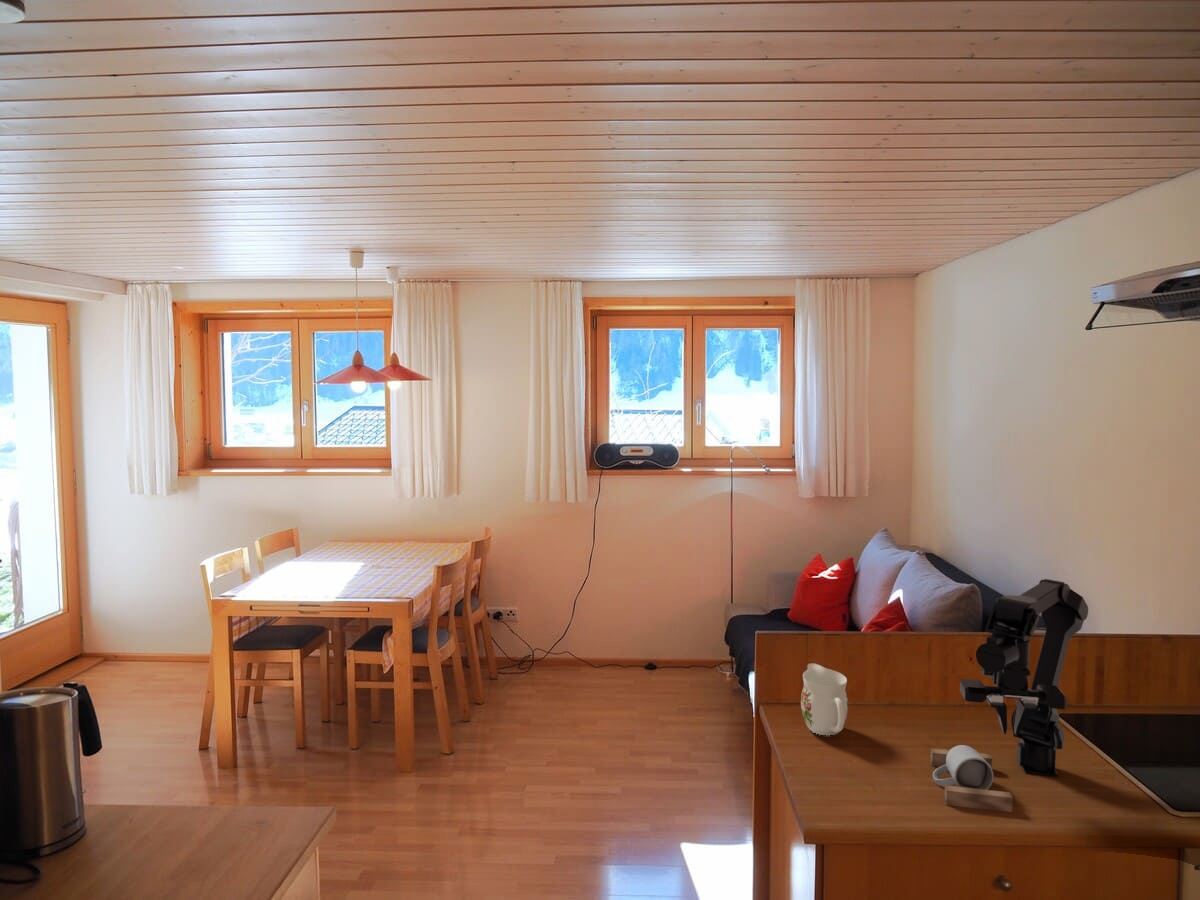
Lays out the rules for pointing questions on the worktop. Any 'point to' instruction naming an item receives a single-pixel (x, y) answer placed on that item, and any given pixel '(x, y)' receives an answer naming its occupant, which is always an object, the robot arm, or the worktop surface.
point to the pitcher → (824, 700)
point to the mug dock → (972, 790)
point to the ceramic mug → (965, 769)
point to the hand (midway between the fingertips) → (1010, 733)
